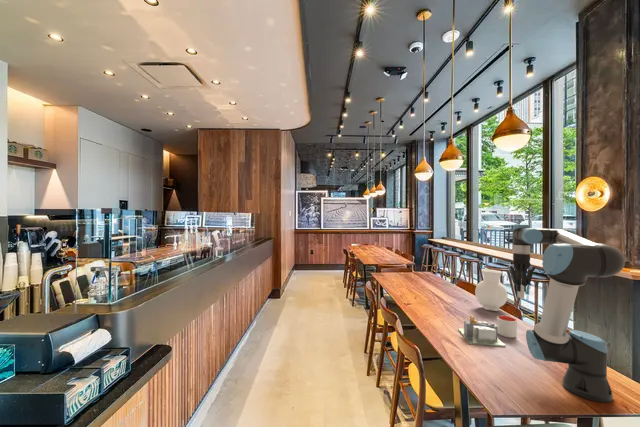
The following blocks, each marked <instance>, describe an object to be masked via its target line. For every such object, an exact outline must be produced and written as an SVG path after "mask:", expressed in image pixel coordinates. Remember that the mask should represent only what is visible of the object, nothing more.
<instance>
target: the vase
mask: <svg viewBox="0 0 640 427" xmlns="http://www.w3.org/2000/svg"><path fill="white" fill-rule="evenodd" d="M480 271H481V273H482V275H483V280H481V281H479V282H478V284H477V285H476V287H475V291H474V293H475V295H474V296H475V298H476V300H477V302H478V303H479V304H480V305H482V309H484V310H485V311H493V312H499V311H501V310H500V308H501V307H503V306H504V305H505V304H506V302H507V301H508V292H507V288H506V287H505V285H504V284H503V283H502V282H500V279H501V276H502V274H503V271H501V270H498V269H497V270H496V269H489V268H488V269H487V268H482V269H481V270H480Z"/></svg>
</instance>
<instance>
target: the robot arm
mask: <svg viewBox="0 0 640 427" xmlns="http://www.w3.org/2000/svg"><path fill="white" fill-rule="evenodd" d="M512 240H513V242H512V244H513V245H512V250H513V251H512V252H513V254H512V259H513V260H512V264H510V265H507V268H508V270H509V272H510V276H511V277H510V278H511V282H512V284H514V285H516V291H517V293H518V294H517V297H518V298H520V299H525V293H526V292H527V290H526V289H527V286H528V285H529V286H530V285H531V282H532V278H533V274H534V271H535V270H536V267H535V266H533V265H532V264H531V262H530V261H531V244H532V245H535V244H537V245H540V244H541V245H548V246H547V247H546V248H545V250H544V252H543V255H542V260H541V261H542V263H541V265H542V268H543V270H544V272H545V273H546V275H547V277H548V278H549V283H548V288H547V292H546V296H545V301H544V304H543V308H542V313H541V317H540V320H539V322H537V323H535V325H534V327H533V329H527V330H526V332H525V339H526V344H527V347H528V348H527V349H528V351H529V353H530V355H531V356H532V357H533V359H535V360H540V361H544V362H551V363H557V364H567V365H568V366H567V369H566V371H565V373H564V375H563V378H562V385H563V387H564V388H565V389H566V390H568V392H570V393H572V394H573V395H576V396H578V397H581V398H582V399H587V400H589V401H592V402H599V403H611V402H613V397H614V396H613V390H612V389H611V385H610V383H609V381H608V375H607V374H608V354H609V352H608V344H607V342H606V341H605V340H603V338H601V337H599V336H597V335H593V334H592V333H588V332H585V331H582V330H576V329H569V331H568V332H567V330H568V325H569V322H570V318H571V315H572V312H573V309H574V305H575V301H576V297H577V295H578V291H579V288H580V287H581V286H584V285H585V284H586V283H587V280H588V277H589V278H608V277H613V276H616V275H617V274H619V273H620V272H621V271H623V269H624V268H625V265H626V258H625V255H624V254H623V252H622V251H620V250H619V249H618V248H616V247H614V246H612V245H610V244H606V243H597V242H594V241H592V240H589V239H588V238H584V237H583V236H580V235H577V232H576V231H575V230H573V229H567V228H562V229H559V228H534V227H533V228H532V227H531V225H530V224H526V223H525V224H522V223H521V224H519V223H518V224H516V223H515V224H514V225H513V229H512Z"/></svg>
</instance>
